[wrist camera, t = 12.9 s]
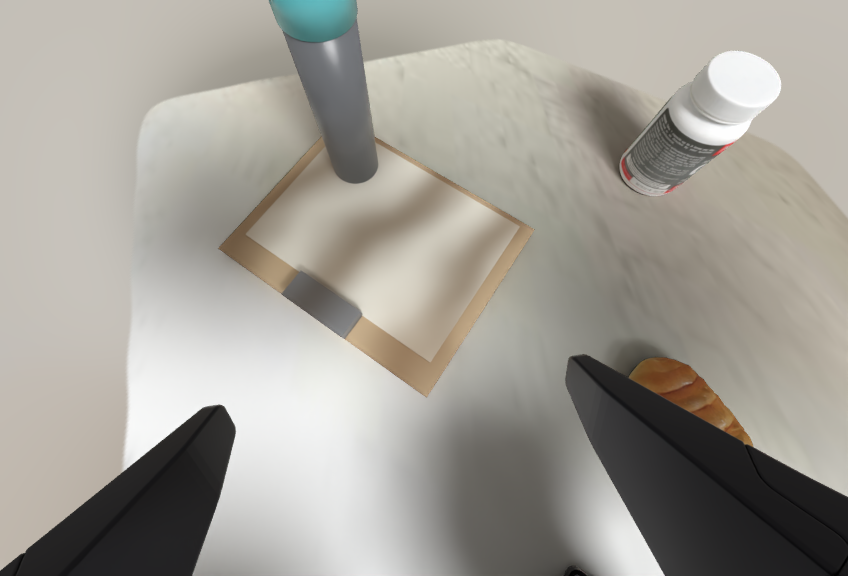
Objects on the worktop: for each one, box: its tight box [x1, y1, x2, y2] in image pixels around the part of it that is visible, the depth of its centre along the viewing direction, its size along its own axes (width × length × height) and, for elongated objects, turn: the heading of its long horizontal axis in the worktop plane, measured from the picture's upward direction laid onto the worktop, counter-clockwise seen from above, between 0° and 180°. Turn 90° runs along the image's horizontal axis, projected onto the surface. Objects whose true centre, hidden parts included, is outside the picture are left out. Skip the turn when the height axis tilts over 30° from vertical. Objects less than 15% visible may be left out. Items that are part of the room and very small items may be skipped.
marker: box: [269, 0, 378, 184], centre depth 19 cm, size 4×4×14 cm
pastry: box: [629, 357, 753, 447], centre depth 19 cm, size 9×7×4 cm
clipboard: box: [218, 136, 535, 397], centre depth 24 cm, size 18×14×2 cm
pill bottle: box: [619, 51, 781, 196], centre depth 22 cm, size 5×5×8 cm
